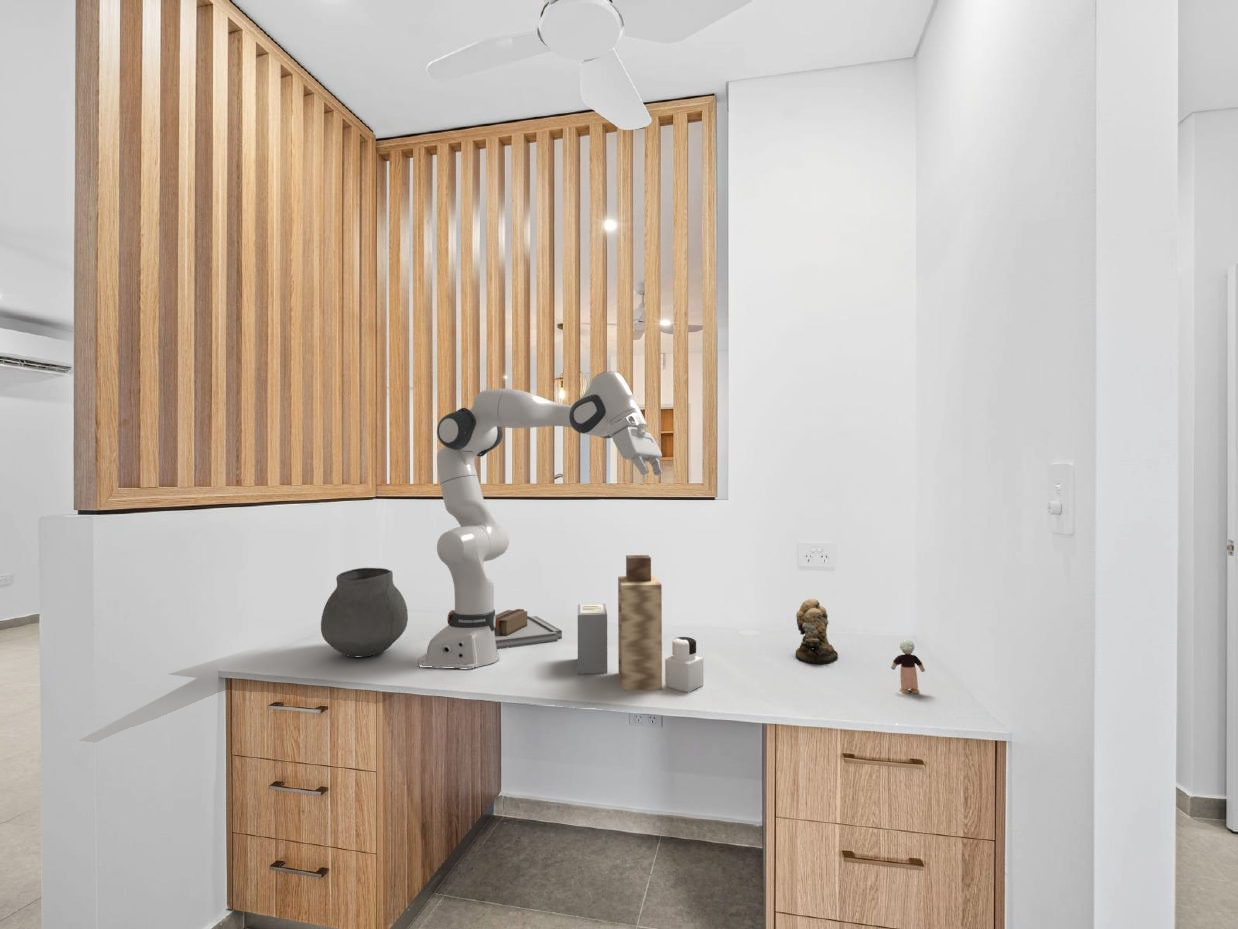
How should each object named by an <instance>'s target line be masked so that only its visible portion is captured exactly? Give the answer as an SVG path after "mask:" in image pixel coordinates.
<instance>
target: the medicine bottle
mask: <svg viewBox="0 0 1238 929" xmlns="http://www.w3.org/2000/svg"><path fill="white" fill-rule="evenodd" d="M671 644H672V645H671V646H672V648H671V650H672V653H671V654H672V655H671V656H669V657H667V658H665V659H664V665H665V667H664V669H665V670H664V673H665V674H664V678H665V681H664V682H665V687H666V688H669V689H674V690H678V691H681V692H686V693H690V692H692V691H694V690H696V688H697V689H698V688H700V687H703V686H704V657H702V656H697V640H695V639H694V638H692V637H688V636H679V637H675V638H674V639H673V640H672V642H671Z"/></svg>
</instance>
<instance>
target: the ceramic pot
mask: <svg viewBox="0 0 1238 929" xmlns="http://www.w3.org/2000/svg"><path fill="white" fill-rule="evenodd" d="M393 574H394V573H393V571H392V570H390V569H388V568H383V567H360V568H353V569H350V570H346V571H343V572H341V573H338V575H337V576H336V578H335V579H336V587H335V589H334V590H333V592H332V593H331V594H330V596H329V597H328V599H327V600H326V603H325V605H324V608H323V611H322V614H321V620H320V631H321V635H322V637H323V640H324V641H325V643H327V644H328V645H329V646H331V647H332V648H333V650H335V651H337V652H339V653H341V654H342V655H345V656H347V655H349V656H366V657H370V656H369V655H372V656H374V654H375V655H377V654H380V653H382V652H384V651H386V650H388V649H390V647H392V645H393V644H394V643H395V642H396V641H397V640H399V638H400V637H401V636H402V635H403V634H404V632H405V630H406V629H407V627H408V620H409V615H408V613H409V612H408V607H407V603H406V600H405V598H404V597H403V596H404V595H403V594H402V593H401V591H400V590H399V589H398V588H397V586H396V585H395V584H394V580H393V576H394V575H393ZM349 656H348V657H349Z"/></svg>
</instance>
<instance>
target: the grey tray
mask: <svg viewBox="0 0 1238 929" xmlns="http://www.w3.org/2000/svg"><path fill="white" fill-rule="evenodd" d="M495 615H496V626H495V630H494V632H495V641H496V647H497V650H501V649H508V648H507V647H509V648H514V647H522V646H523V647H524V646H530V645H531V644H532V645H537V644H538V643H539V644H546V643H554V642H558V641H559V640H560V639H563V630H561V629H560V628H558V627H556V626H554V625H552V624H551V623H549V622H547V621H545V619H542V618H540V617H539V616H537V615H536V616H534V615H533V616H529V615H528V611H527V610H525V609H523V608H522V609H521V608H517V609H515V610H514V609H513V610H512V609H507V610H505V611H502V612H500V613H498V614H495ZM539 644H538V645H539ZM532 645H531V646H532ZM500 648H501V649H500Z"/></svg>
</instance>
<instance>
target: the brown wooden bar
mask: <svg viewBox="0 0 1238 929" xmlns="http://www.w3.org/2000/svg"><path fill="white" fill-rule="evenodd" d="M625 570H626V571H625V576H626V579H627V581H628V582H634V581H651V576H652V558H651V556H650V555H649V554H648V555H647V554H642V555H641V554H640V555H637V554H635V555H629V554H628V555H625Z"/></svg>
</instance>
